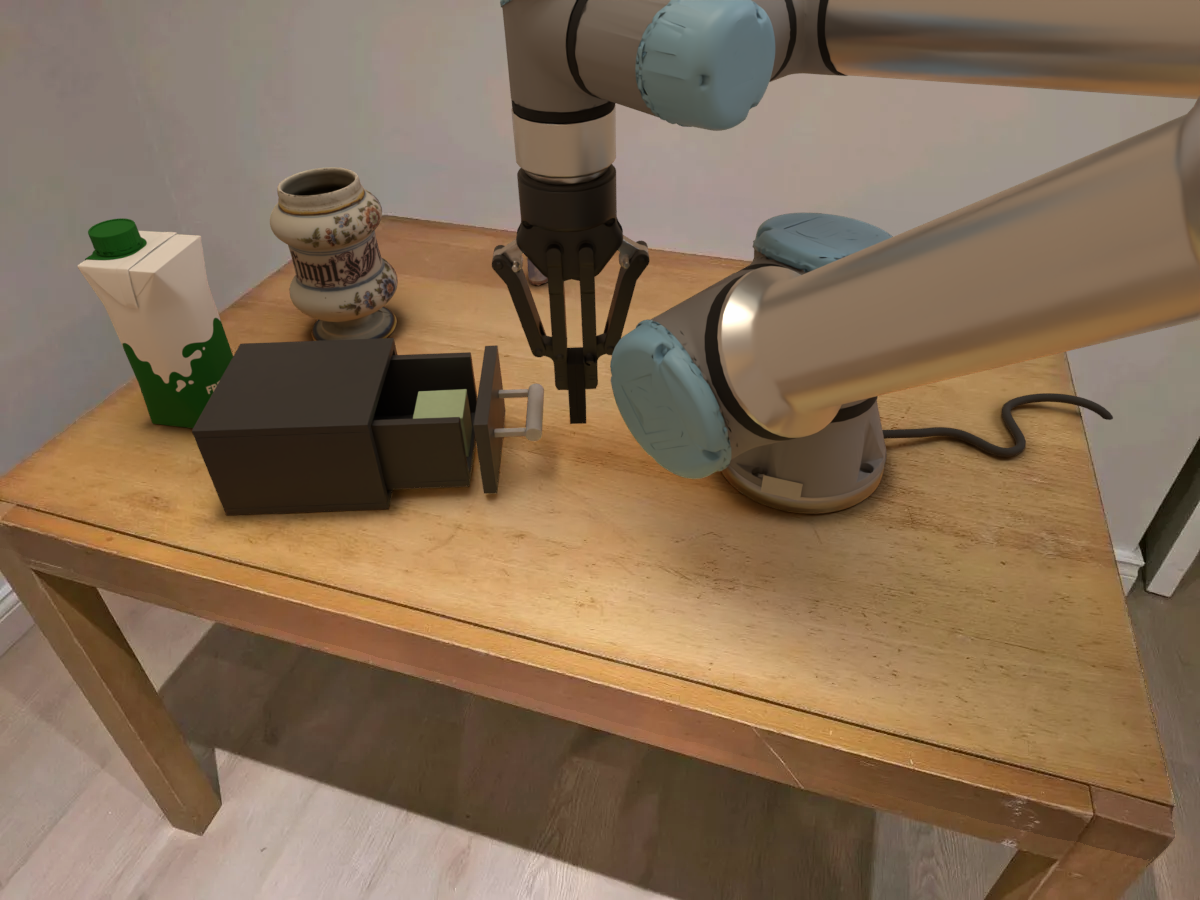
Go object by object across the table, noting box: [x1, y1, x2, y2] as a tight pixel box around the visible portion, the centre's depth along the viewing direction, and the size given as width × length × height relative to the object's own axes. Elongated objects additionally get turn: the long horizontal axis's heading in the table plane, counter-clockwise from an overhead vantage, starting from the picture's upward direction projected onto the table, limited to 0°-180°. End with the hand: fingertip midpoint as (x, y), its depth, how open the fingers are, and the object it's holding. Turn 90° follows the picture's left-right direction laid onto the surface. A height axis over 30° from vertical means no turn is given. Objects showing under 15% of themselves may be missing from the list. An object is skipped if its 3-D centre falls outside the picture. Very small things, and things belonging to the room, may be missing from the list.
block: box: [413, 389, 472, 457], centre depth 81 cm, size 4×4×4 cm
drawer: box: [371, 345, 545, 495], centre depth 80 cm, size 18×12×8 cm
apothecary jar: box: [269, 166, 399, 341], centre depth 97 cm, size 12×12×18 cm
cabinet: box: [191, 337, 398, 516], centre depth 80 cm, size 15×14×10 cm
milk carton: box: [77, 217, 234, 429], centre depth 85 cm, size 9×9×20 cm
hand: (578, 414), depth 80 cm, fingers closed
